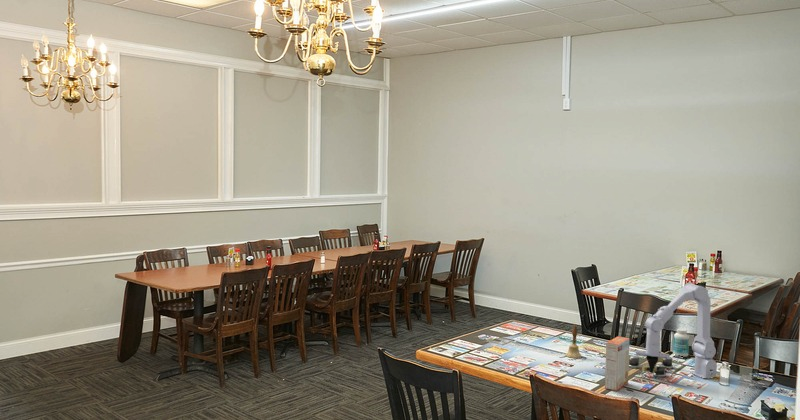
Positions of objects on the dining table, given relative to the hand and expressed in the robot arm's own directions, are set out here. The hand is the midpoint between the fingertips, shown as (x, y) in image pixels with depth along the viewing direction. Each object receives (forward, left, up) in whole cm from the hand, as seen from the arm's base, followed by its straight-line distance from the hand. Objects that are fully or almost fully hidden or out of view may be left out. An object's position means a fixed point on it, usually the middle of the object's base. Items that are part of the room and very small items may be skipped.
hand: (651, 372), depth 298 cm
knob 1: (+18, 0, -1) cm, 18 cm away
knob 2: (+13, -15, -1) cm, 20 cm away
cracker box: (-7, +23, -3) cm, 24 cm away
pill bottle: (+28, -39, -3) cm, 48 cm away
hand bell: (+38, +18, -3) cm, 42 cm away
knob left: (+2, -3, -1) cm, 4 cm away
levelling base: (+9, -10, -3) cm, 14 cm away
